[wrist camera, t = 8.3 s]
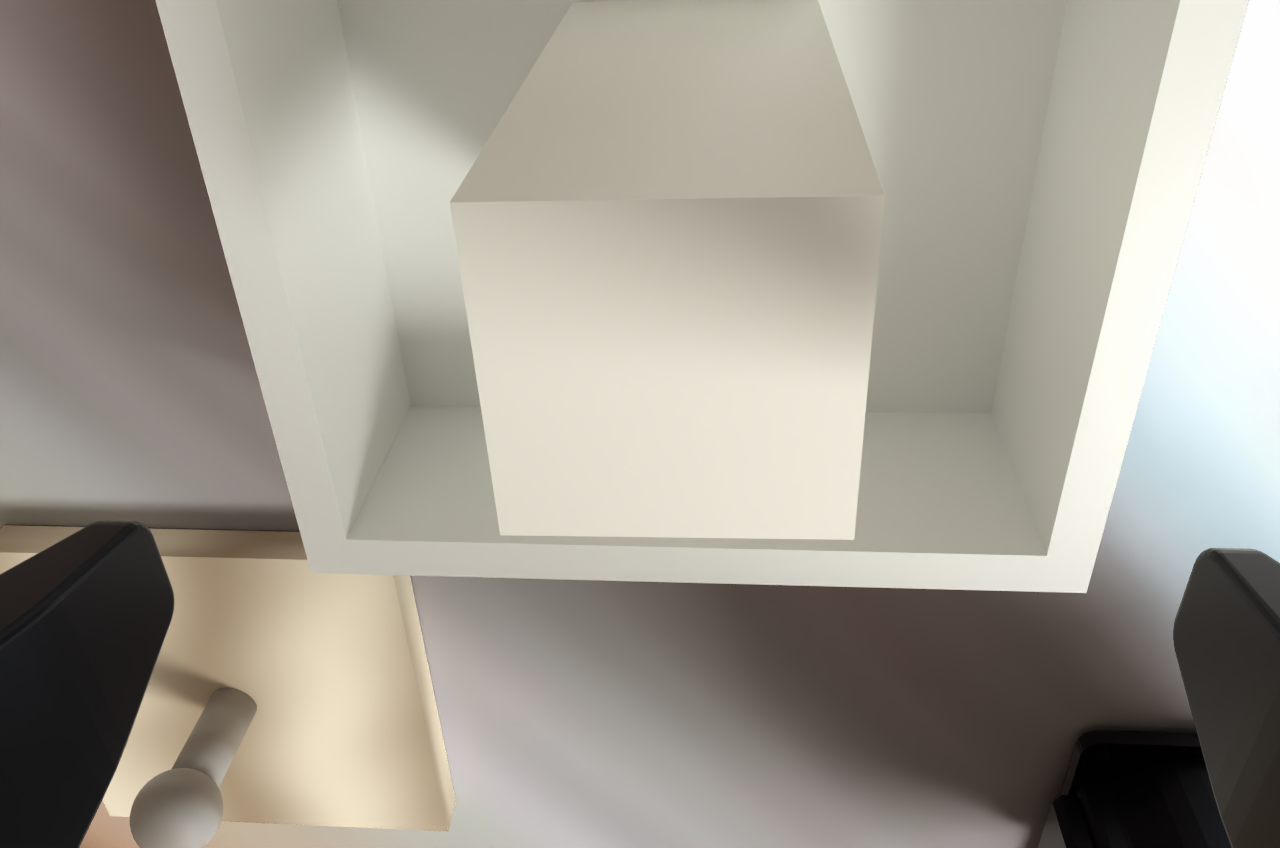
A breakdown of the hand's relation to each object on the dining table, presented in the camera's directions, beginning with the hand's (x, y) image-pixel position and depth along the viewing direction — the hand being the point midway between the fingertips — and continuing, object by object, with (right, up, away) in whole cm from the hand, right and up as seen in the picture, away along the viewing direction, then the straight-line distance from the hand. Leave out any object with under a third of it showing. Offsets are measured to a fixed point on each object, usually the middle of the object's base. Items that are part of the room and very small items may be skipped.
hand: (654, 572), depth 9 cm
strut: (+1, +7, +9) cm, 11 cm away
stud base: (-11, -5, +19) cm, 22 cm away
